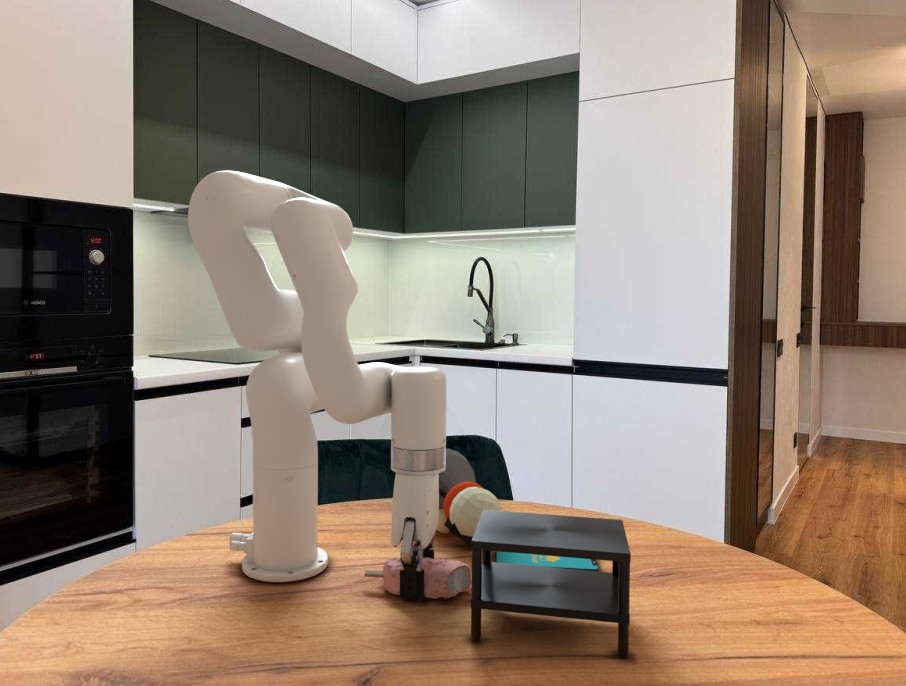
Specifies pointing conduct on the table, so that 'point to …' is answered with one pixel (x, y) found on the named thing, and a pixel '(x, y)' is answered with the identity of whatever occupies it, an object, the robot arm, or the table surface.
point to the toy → (461, 498)
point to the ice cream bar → (429, 577)
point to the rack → (551, 569)
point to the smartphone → (547, 561)
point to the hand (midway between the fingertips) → (417, 586)
